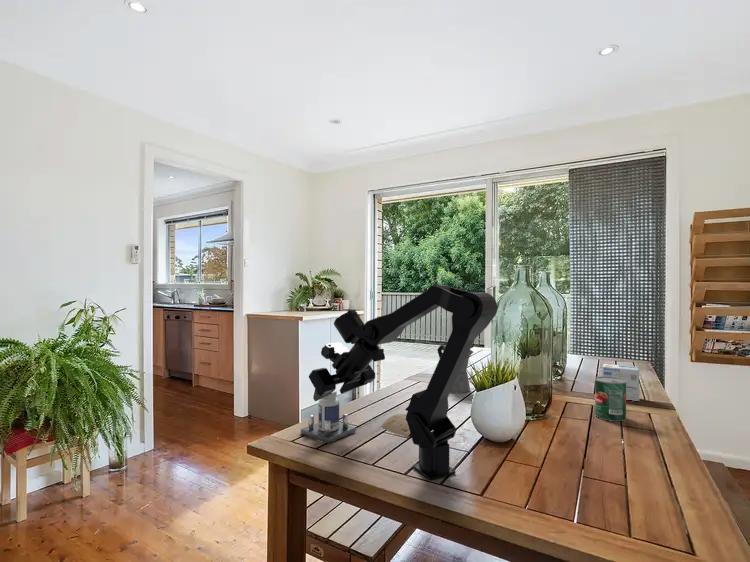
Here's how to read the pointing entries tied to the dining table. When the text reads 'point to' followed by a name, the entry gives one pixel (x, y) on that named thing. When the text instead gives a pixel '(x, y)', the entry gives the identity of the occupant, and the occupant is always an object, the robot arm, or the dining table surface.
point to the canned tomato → (610, 398)
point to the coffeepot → (460, 374)
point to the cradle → (327, 430)
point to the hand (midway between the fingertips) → (328, 395)
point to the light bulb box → (625, 378)
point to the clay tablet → (397, 425)
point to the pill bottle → (329, 411)
